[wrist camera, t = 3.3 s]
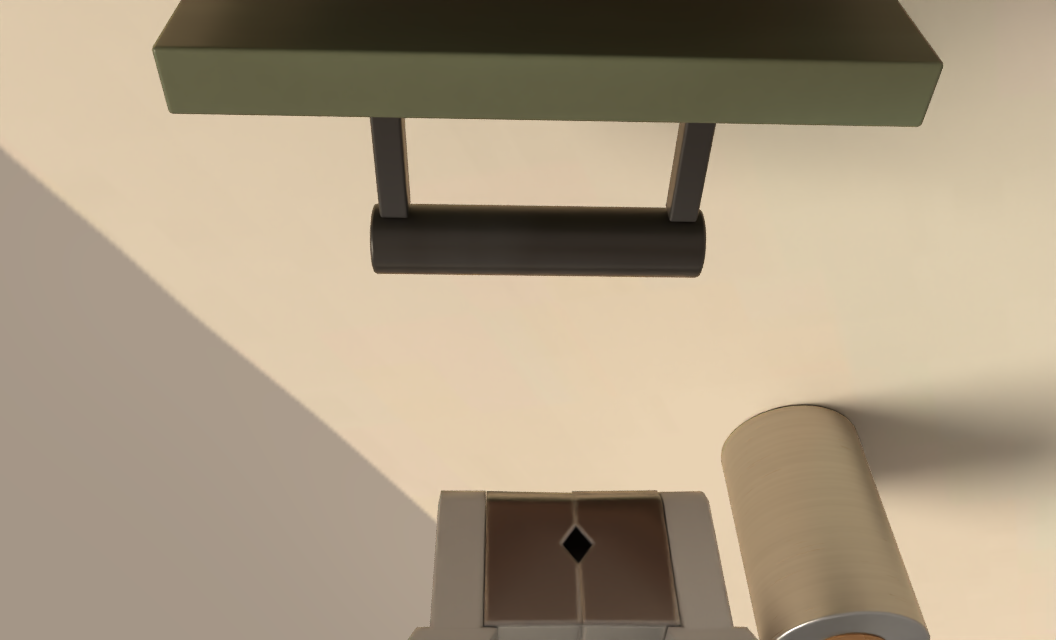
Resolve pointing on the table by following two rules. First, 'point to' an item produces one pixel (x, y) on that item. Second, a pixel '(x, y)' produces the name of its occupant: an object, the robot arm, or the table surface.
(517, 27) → the drawer
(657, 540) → the robot arm
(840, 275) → the table surface
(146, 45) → the table surface
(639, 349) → the table surface
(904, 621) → the cylinder
